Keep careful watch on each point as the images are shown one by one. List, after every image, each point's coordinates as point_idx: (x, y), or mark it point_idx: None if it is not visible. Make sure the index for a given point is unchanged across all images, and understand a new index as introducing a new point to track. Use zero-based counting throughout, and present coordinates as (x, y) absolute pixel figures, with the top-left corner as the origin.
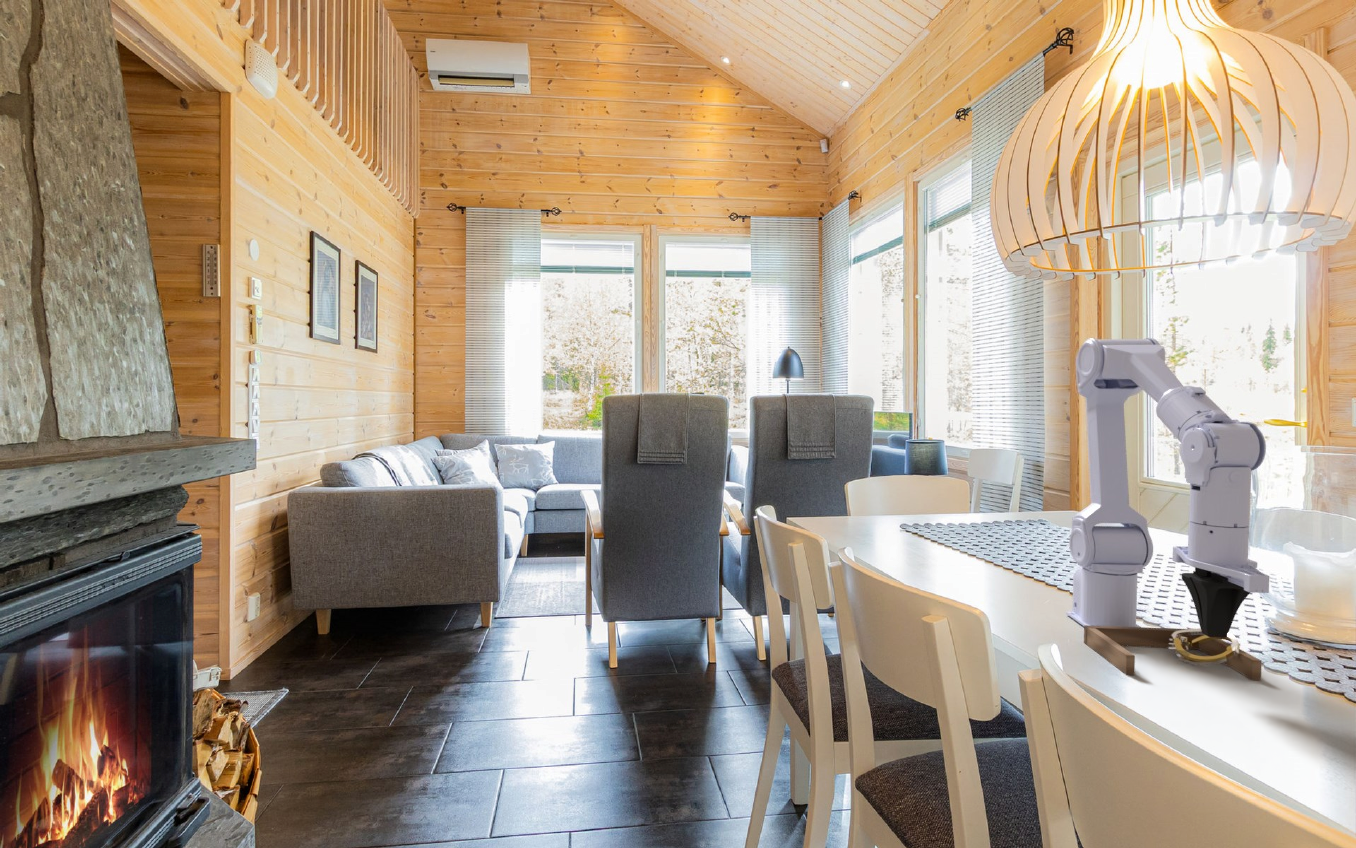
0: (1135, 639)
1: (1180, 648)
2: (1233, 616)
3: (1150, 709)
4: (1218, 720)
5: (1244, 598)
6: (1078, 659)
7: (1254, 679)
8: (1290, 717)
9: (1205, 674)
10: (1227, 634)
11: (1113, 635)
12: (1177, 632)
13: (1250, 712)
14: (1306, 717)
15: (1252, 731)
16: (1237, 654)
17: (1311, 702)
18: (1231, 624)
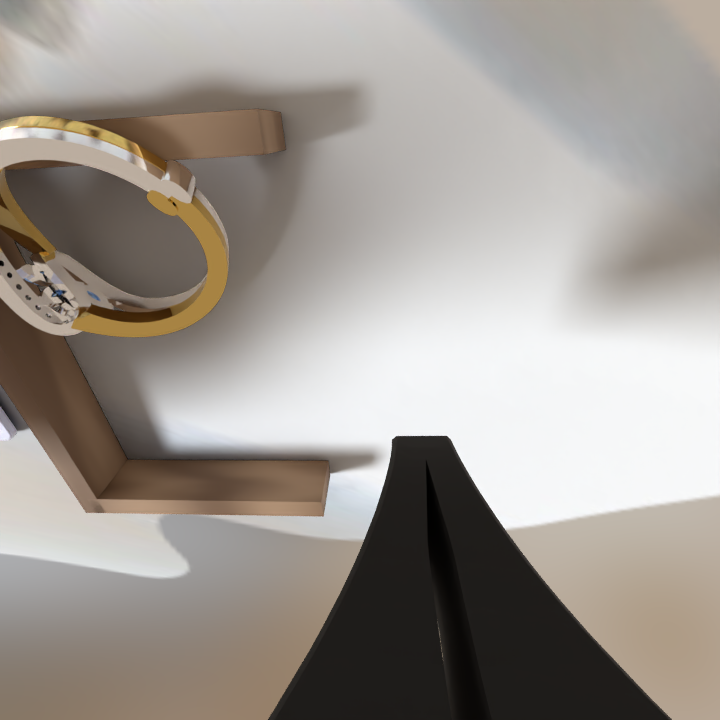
0: (65, 387)
1: (146, 328)
2: (500, 529)
3: (523, 505)
4: (592, 419)
5: (645, 699)
6: (252, 516)
7: (283, 140)
8: (605, 226)
9: (270, 288)
10: (451, 445)
11: (88, 445)
12: (31, 316)
13: (557, 322)
14: (614, 168)
15: (662, 383)
16: (191, 177)
17: (490, 33)
18: (467, 478)
